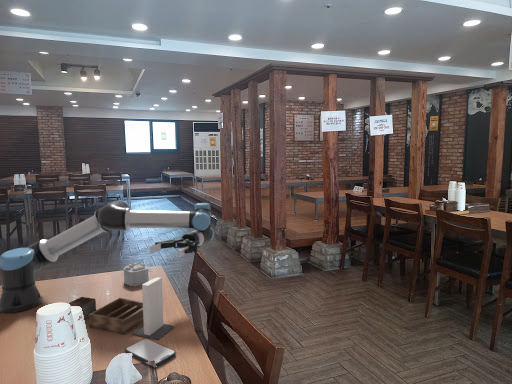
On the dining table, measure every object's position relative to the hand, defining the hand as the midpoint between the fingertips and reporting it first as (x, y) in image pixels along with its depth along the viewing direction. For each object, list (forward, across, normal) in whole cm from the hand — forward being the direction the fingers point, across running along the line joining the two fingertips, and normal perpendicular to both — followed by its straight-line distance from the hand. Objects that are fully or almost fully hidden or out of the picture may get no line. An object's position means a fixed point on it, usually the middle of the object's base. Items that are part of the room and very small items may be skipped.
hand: (164, 252), depth 141 cm
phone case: (+28, -14, -25) cm, 40 cm away
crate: (+13, +10, -25) cm, 30 cm away
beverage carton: (+20, +29, -26) cm, 43 cm away
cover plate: (+15, -6, -24) cm, 29 cm away
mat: (+15, -6, -25) cm, 29 cm away
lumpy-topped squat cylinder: (-24, +35, -25) cm, 49 cm away
